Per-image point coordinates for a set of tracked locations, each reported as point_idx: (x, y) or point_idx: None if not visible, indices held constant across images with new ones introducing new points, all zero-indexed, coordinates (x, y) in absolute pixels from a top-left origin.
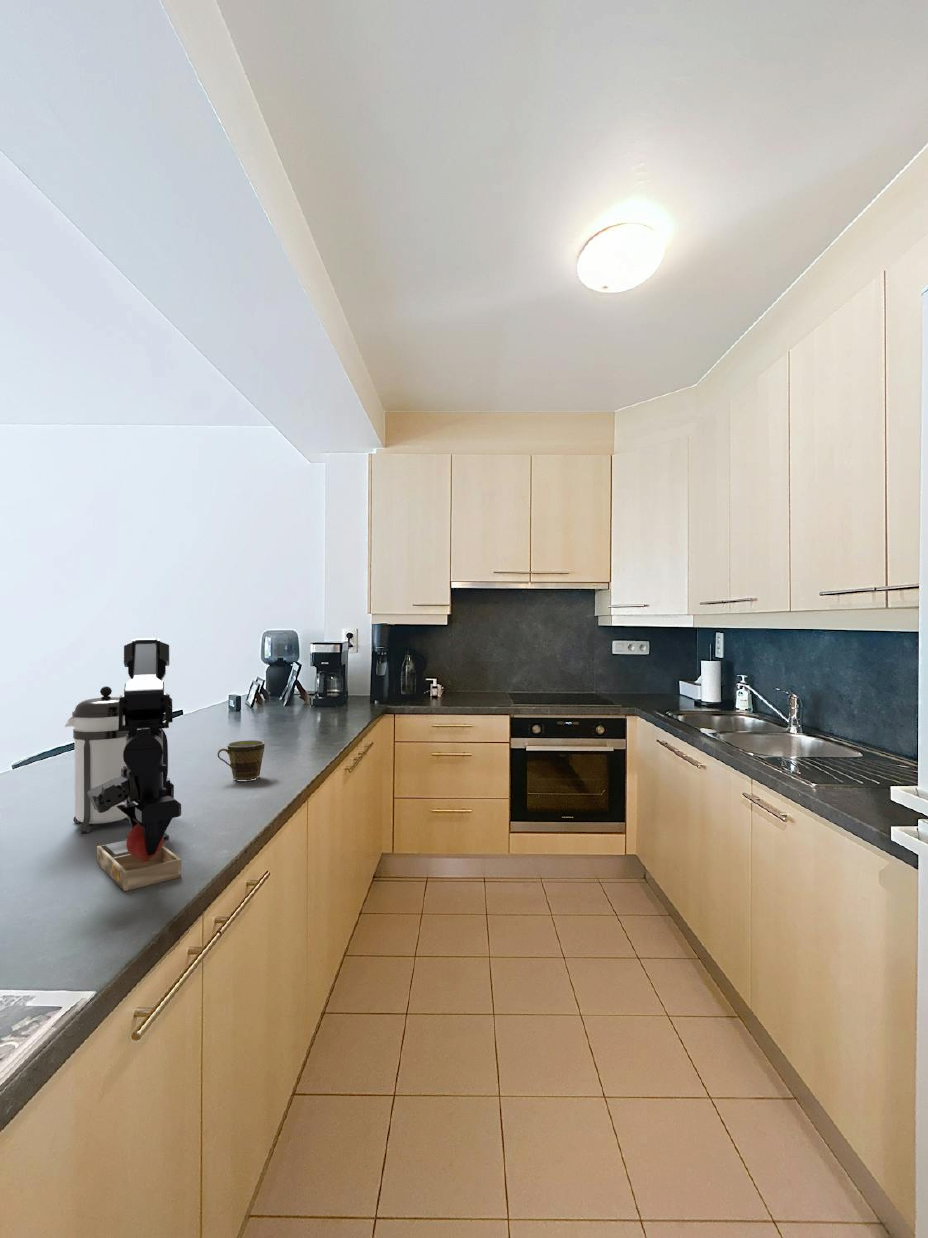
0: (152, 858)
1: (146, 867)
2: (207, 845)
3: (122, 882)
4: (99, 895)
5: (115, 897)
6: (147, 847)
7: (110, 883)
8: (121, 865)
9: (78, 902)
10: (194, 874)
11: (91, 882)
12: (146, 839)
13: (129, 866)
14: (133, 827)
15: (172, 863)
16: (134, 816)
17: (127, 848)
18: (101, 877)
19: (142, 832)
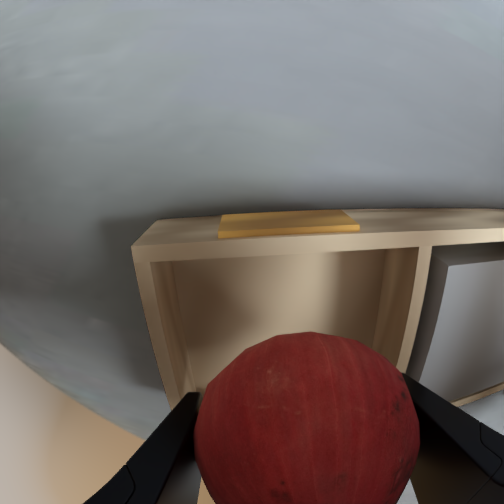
0: None
1: (152, 345)
2: None
3: (179, 225)
4: (180, 124)
5: (116, 178)
6: (161, 424)
7: (304, 190)
8: (395, 266)
9: (158, 46)
10: None
11: (373, 129)
12: (129, 462)
13: (385, 292)
14: (361, 483)
15: None
16: (481, 500)
17: (316, 341)
18: (403, 178)
19: (224, 494)
